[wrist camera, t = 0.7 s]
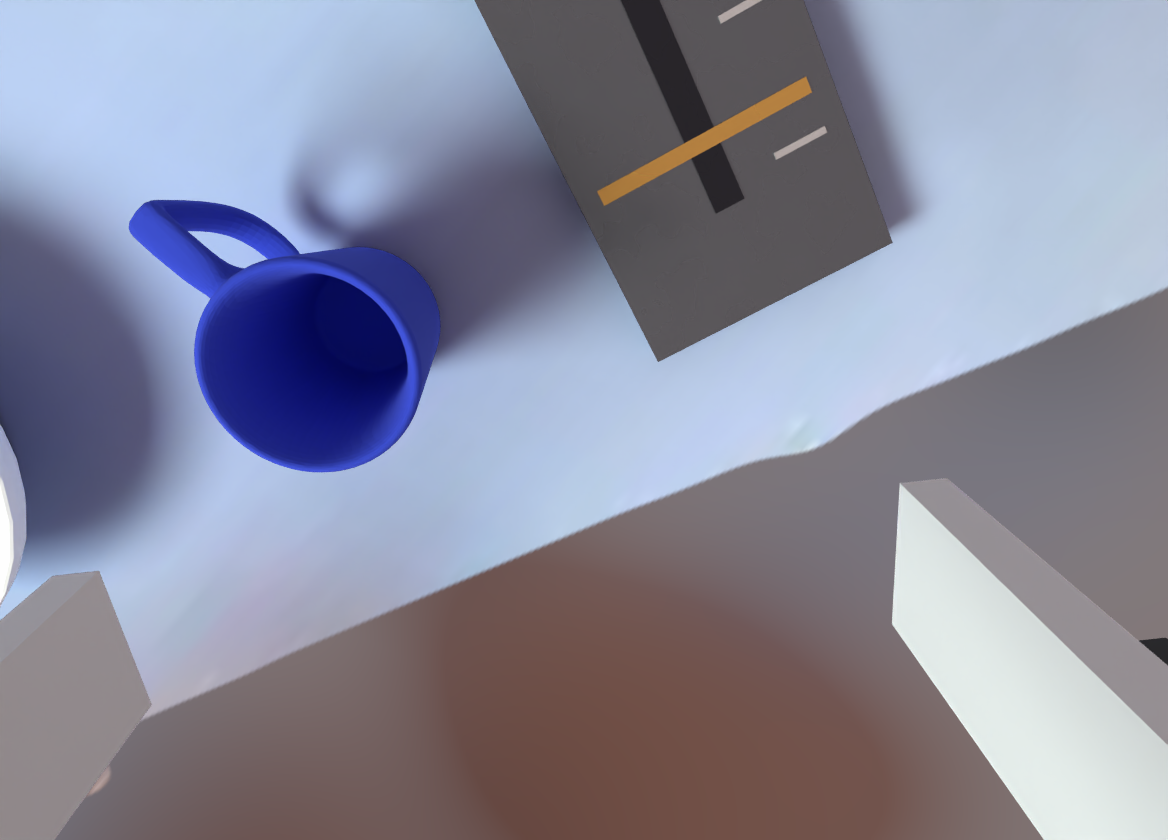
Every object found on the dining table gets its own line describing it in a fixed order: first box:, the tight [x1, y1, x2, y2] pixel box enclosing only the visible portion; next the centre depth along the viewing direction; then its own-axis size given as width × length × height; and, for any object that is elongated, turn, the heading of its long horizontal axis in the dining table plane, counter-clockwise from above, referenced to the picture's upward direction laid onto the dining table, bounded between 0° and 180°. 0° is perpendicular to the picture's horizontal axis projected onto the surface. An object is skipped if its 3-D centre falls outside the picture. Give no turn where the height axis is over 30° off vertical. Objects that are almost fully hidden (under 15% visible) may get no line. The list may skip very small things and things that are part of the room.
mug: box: [129, 200, 440, 472], centre depth 31 cm, size 8×12×10 cm
